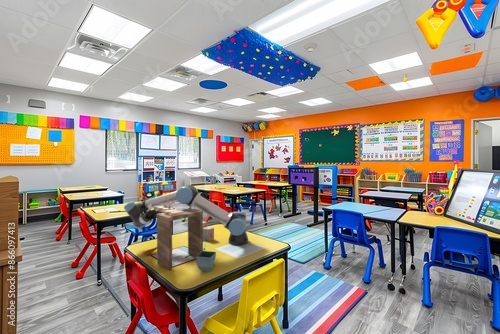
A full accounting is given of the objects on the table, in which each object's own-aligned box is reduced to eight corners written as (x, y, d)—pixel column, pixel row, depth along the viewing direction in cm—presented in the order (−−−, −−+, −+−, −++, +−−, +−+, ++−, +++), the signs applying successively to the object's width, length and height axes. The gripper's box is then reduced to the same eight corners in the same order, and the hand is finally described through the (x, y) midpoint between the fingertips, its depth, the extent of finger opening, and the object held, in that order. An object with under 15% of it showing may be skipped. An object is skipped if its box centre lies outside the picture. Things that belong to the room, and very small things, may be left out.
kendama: (141, 249, 156) (164, 238, 174) (143, 258, 156) (166, 246, 174) (148, 249, 153) (170, 237, 171) (150, 257, 153) (172, 245, 171)
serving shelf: (190, 252, 160) (189, 207, 160) (203, 257, 151) (203, 210, 151) (156, 264, 142) (156, 214, 141) (169, 270, 133) (169, 217, 132)
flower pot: (211, 273, 129) (210, 257, 129) (195, 272, 131) (195, 256, 131) (216, 267, 138) (216, 251, 137) (202, 265, 139) (202, 250, 139)
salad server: (150, 210, 151) (150, 207, 151) (160, 209, 156) (160, 205, 156) (173, 216, 134) (173, 212, 134) (183, 214, 140) (183, 210, 140)
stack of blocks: (214, 239, 187) (214, 224, 187) (207, 241, 183) (207, 225, 182) (198, 234, 202) (198, 219, 202) (192, 235, 197) (192, 221, 197)
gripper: (165, 218, 170) (180, 207, 158) (129, 225, 151) (143, 213, 139) (162, 208, 172) (177, 196, 160) (127, 214, 153) (140, 201, 141)
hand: (161, 204), depth 149 cm, fingers open, 13 cm apart
